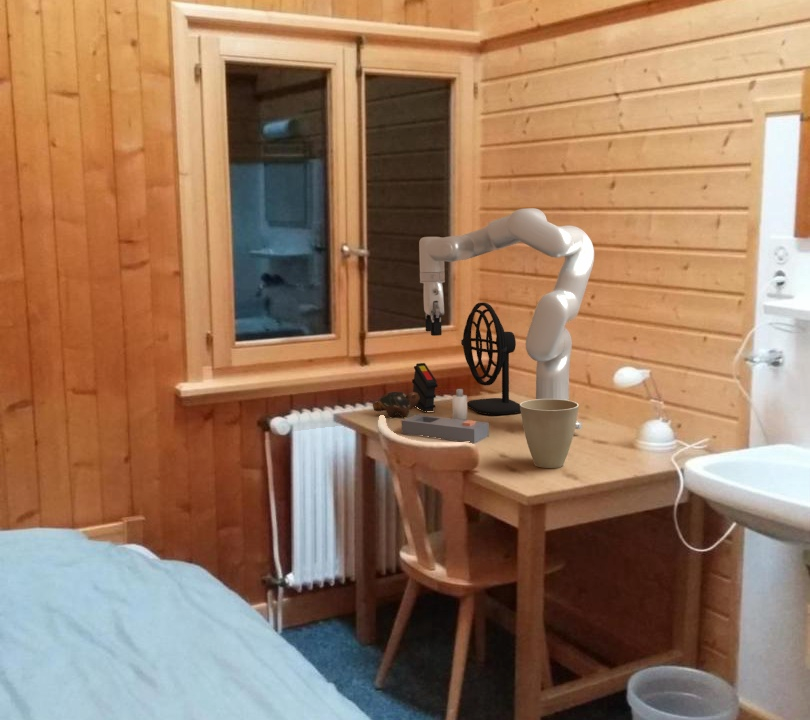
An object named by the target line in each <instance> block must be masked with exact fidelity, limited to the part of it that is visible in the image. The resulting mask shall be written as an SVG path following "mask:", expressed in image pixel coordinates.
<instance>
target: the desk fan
mask: <svg viewBox="0 0 810 720" xmlns="http://www.w3.org/2000/svg"><path fill="white" fill-rule="evenodd" d="M482 306H483V307H485V309H483V310H481V309H479V308H481V307H482ZM487 312H488V313H489V314H490V316H491V319H492V320H490V322H489V320H488V317H487V316H486V313H487ZM476 313H478V314H479V317H477V322H476V321H474V317H475V314H476ZM482 320H483V321H484V325H485V326H486V333H485V335H486V336H485V338H486V339H485V338H482V333H481V331H480V327H481V323H482ZM473 325H474V327H475V337H472V331H473V330H472V328H473ZM492 325H494V328H495V335H496V336H495V337H496V338H495V340H493V336H492V330H491V326H492ZM462 335H463V336H462V339H461V341H460V342H461V343H460V344H461V346H462V348H463V353H464V358H465V361H466V363H467V366H468V367H469V370H470V373H471V375H472V376H473V379H474V380H475V381H476V382H477V383H478V384H480V385H482V386H491V385H493V384H494V383H495V381H496V380H497V378H498V377H499V375H500V373H501V397H491V398H481V399H480V398H476V399H472V400H468V401H467V408H469V407H470V408H469V409H471V410H474V411H475V412H477V413H478V414H482V415H489V416H490V415H491V416H495V415H496V416H498V415H509V414H517V413H518V414H519V413H521V410H520V403H518V402H516V401H514V400H512V399H510V388H509V387H510V368H509V367H510V354H511V353H514V352H515V350H516V345H517V343H516V341H517V340H516V336H515V334H514V333H513V332H512V331H505V329H504V326H503V325H502V323H501V321H500V318H499V317H498V314H497V313H496V311H495V309H494V308H493V307H492V305H491V304H489V303H488V302H484V301H483V302H477V303H475V305H474V306H473V308H472V310H471V311H470V313H469V314H468V317H467V319H466V323H465V326H464V330H463V334H462ZM472 342H475V346H472V345H473V344H472ZM483 343H485V346H486V348H483ZM494 345H495V346H496V349H494V348H493V346H494ZM473 351H476V357H477V363H476V364H475V361H474V356H473V355H474V354H473ZM483 353H487V356H488V362H487V367H486V368H485V366H484V364H483V360H482V359H483V358H482V355H483ZM493 354H497V355H496V363H495V362H494V360H493V357H494V356H493ZM492 366H494V371H493V373H492V374H491V375H490V371H491V369H492ZM479 367H480V369H481V372H482V373H483V375H481V376H480V374H479V372H478V370H477V368H479ZM485 378H489V379H487V380H486V381H484V380H483V379H485Z"/></svg>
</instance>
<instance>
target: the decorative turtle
mask: <svg viewBox="0 0 810 720" xmlns="http://www.w3.org/2000/svg"><path fill="white" fill-rule="evenodd" d="M419 399H420V397H419V395H418V393H415V392H413V391H410V392H408V393H407V394H406V393H404V392H401V391H391V392H388V393H386V394H384V395H382V396H381V397H380V398H379V400H378V401H375V402H373V403H372V409H373V411H375V412H384V411H385V412H386V414H387V417H388V418H390V417H392V418H394V417H395V415H396V414H399V416H400V417H401V418H402V417H403V419H405V418H404V417H406V418H408V415H409V413H410V410H412V409H414V408H415V406H416V405H417V403H418V402H419V401H418V400H419Z"/></svg>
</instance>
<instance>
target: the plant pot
mask: <svg viewBox="0 0 810 720" xmlns="http://www.w3.org/2000/svg"><path fill="white" fill-rule="evenodd" d="M519 404H520V410H521V412H520V416H521V422H522V427H523V432H524V436H525V440H526V444H527V447H528V449H529V452H530V453H529V454H530V456H531V458H532V462H533V464H534V466H536V467H539V468H542V469H556V468H561V467H563V466H564V464H565V463H566V460H567V456H568V454H569V451H570V448H571V445H572V440H573V437H574V434H575V430H576V429H575V425H576V421H578V420H577V419H578V413H579V407H580V406H579V403H578V402H576V401H573V400H570V399H569V400H562V399H536V398H535V399H529V400H525V401H522V402H520V403H519Z"/></svg>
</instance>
